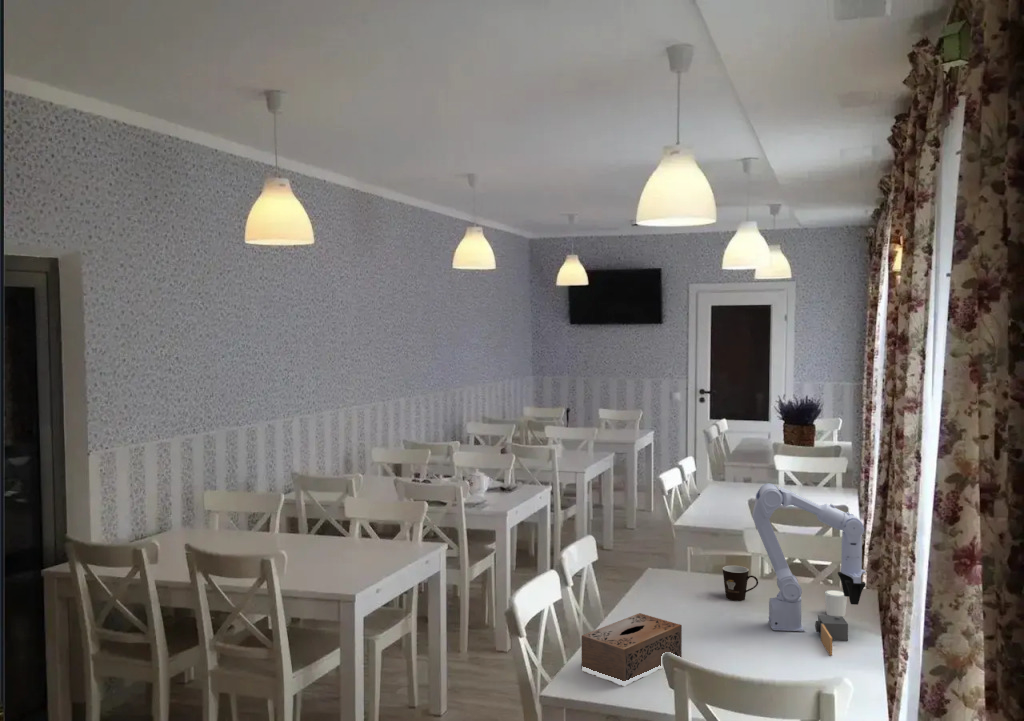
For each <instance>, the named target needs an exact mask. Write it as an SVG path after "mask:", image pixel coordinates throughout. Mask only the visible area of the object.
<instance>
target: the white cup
mask: <svg viewBox="0 0 1024 721" xmlns="http://www.w3.org/2000/svg"><path fill="white" fill-rule="evenodd" d="M824 598H825V601H824V602H825V610H826V612H825V613H826V616H842V617H843V618H844V617H845V616H846V611H847V601H848V597H847V596H844V593H843V590H838V589H829V590H828V589H827V590H825V591H824Z"/></svg>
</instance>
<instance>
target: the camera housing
mask: <svg viewBox="0 0 1024 721" xmlns="http://www.w3.org/2000/svg"><path fill="white" fill-rule="evenodd" d="M821 623H823V624H824V626H825V627H826V629H827V631H828V632H829V634H830V635H831V637H832V641H835V642H836V641H840V642H842V641H843V642H848V641H849V637H848V636H849V624H848V622H847V621H846V619H845V618H844V617H842V616H829V615H819V614H818V615H817V620H815V623H814V626H815V632H817V633H818V634H819V636H820V637H821Z"/></svg>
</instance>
